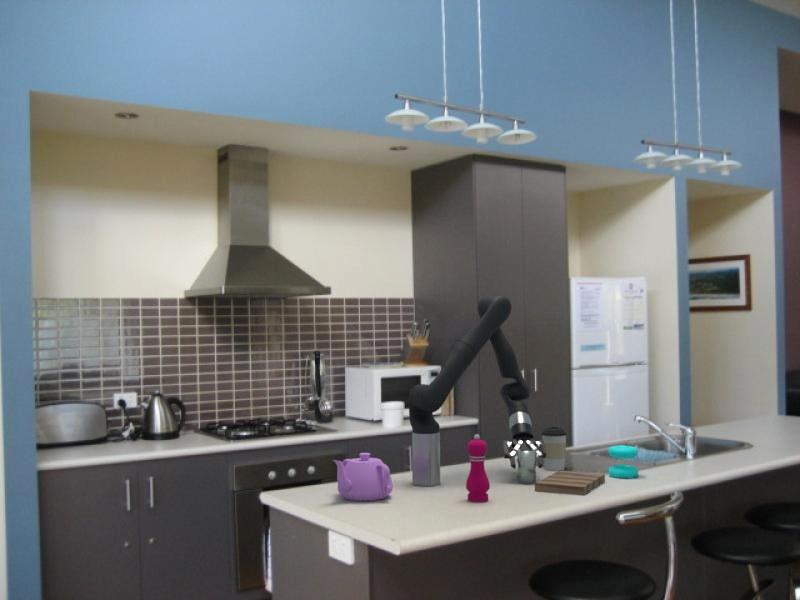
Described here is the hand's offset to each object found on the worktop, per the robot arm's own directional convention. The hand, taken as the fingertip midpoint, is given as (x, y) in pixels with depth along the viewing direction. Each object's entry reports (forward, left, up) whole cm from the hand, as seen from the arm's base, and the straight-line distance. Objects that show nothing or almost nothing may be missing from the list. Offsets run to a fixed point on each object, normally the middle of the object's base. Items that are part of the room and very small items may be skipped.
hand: (527, 467), depth 286 cm
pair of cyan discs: (+26, -25, -6) cm, 37 cm away
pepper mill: (-31, +5, -6) cm, 32 cm away
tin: (+1, +1, -5) cm, 6 cm away
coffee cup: (+30, +1, -6) cm, 31 cm away
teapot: (-44, +39, -6) cm, 59 cm away
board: (+1, -14, -5) cm, 15 cm away
